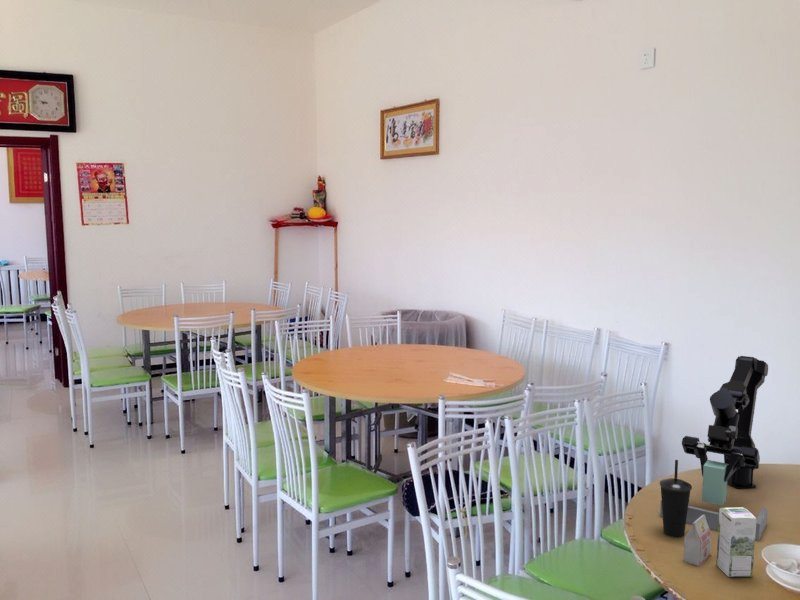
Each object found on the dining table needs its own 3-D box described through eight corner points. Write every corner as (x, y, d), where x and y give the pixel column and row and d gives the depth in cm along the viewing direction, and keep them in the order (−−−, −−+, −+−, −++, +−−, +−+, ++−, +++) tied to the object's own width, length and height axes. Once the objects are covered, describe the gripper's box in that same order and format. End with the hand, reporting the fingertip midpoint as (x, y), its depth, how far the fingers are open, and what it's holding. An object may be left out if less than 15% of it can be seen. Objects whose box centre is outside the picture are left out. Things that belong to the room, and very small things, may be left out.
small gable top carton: (683, 561, 160) (685, 520, 159) (694, 551, 165) (696, 512, 164) (699, 566, 158) (701, 525, 156) (710, 556, 162) (711, 516, 161)
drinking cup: (651, 531, 175) (653, 457, 173) (673, 526, 178) (676, 453, 176) (673, 544, 168) (676, 467, 166) (696, 538, 171) (699, 462, 169)
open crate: (671, 504, 192) (672, 487, 191) (766, 526, 178) (767, 508, 177) (660, 518, 183) (660, 501, 182) (758, 543, 168) (759, 524, 168)
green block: (706, 495, 184) (707, 459, 182) (726, 499, 181) (728, 463, 179) (701, 501, 180) (703, 465, 178) (722, 506, 177) (723, 469, 175)
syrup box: (739, 564, 158) (742, 505, 156) (753, 578, 152) (756, 516, 151) (715, 565, 158) (718, 506, 156) (728, 578, 152) (731, 517, 150)
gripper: (684, 407, 186) (672, 457, 179) (760, 418, 175) (750, 472, 167) (690, 427, 193) (679, 476, 186) (763, 439, 182) (754, 492, 175)
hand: (714, 478), depth 178 cm, fingers closed on green block, 5 cm apart
